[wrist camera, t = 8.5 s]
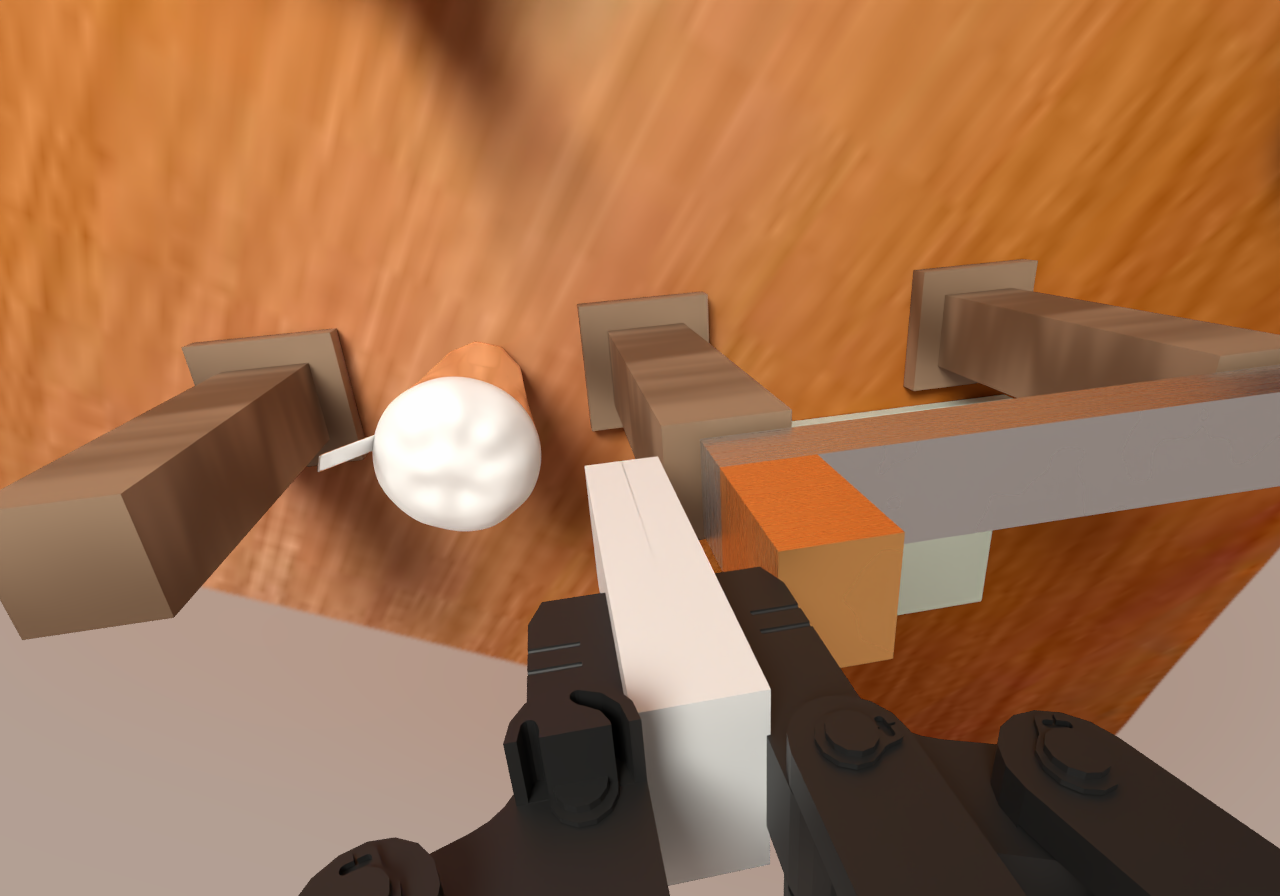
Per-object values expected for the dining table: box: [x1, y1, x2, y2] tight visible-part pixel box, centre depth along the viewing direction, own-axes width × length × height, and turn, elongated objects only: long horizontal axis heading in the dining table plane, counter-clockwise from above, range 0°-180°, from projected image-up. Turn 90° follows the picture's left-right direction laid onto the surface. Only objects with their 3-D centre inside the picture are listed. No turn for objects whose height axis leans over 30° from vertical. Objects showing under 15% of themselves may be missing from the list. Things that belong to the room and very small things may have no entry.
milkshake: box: [317, 341, 541, 531], centre depth 20 cm, size 4×5×10 cm
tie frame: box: [0, 259, 1280, 640], centre depth 20 cm, size 5×33×12 cm, turn 95°
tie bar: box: [700, 364, 1280, 668], centre depth 13 cm, size 2×18×5 cm, turn 94°
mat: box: [792, 394, 1013, 615], centre depth 30 cm, size 11×11×1 cm
